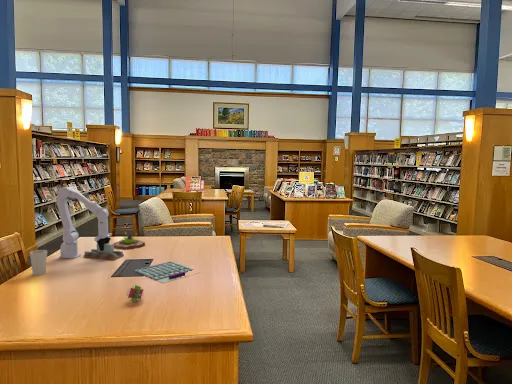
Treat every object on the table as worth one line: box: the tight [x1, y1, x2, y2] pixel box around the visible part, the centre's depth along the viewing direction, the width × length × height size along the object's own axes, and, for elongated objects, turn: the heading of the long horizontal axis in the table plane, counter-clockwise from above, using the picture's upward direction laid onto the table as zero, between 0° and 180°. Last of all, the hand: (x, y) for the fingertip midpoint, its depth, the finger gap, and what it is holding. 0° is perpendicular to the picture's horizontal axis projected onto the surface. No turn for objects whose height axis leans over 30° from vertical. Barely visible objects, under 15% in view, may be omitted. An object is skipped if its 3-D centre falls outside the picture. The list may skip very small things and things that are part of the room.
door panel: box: [96, 242, 115, 254], centre depth 230 cm, size 10×3×7 cm, turn 76°
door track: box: [82, 248, 125, 261], centre depth 230 cm, size 22×10×3 cm, turn 76°
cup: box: [29, 249, 48, 276], centre depth 195 cm, size 8×8×12 cm
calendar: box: [133, 261, 194, 284], centre depth 202 cm, size 27×28×2 cm
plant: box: [113, 231, 146, 251], centre depth 259 cm, size 20×20×11 cm
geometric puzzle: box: [126, 284, 144, 303], centre depth 160 cm, size 7×7×8 cm
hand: (103, 249), depth 230 cm, fingers open, 3 cm apart
